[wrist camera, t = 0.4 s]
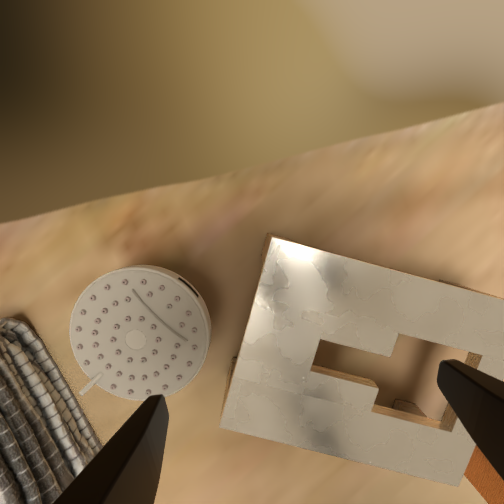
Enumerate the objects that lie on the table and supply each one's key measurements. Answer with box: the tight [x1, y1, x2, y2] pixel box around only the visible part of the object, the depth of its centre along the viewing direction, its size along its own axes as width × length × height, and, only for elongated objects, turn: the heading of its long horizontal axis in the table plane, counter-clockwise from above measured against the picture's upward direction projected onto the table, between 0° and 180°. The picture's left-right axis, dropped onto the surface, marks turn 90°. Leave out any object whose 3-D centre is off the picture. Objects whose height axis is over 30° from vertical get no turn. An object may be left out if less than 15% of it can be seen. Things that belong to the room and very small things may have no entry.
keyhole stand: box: [219, 233, 504, 487], centre depth 20 cm, size 14×18×6 cm
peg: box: [441, 405, 504, 504], centre depth 21 cm, size 4×4×8 cm
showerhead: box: [69, 265, 211, 401], centre depth 20 cm, size 9×7×10 cm
